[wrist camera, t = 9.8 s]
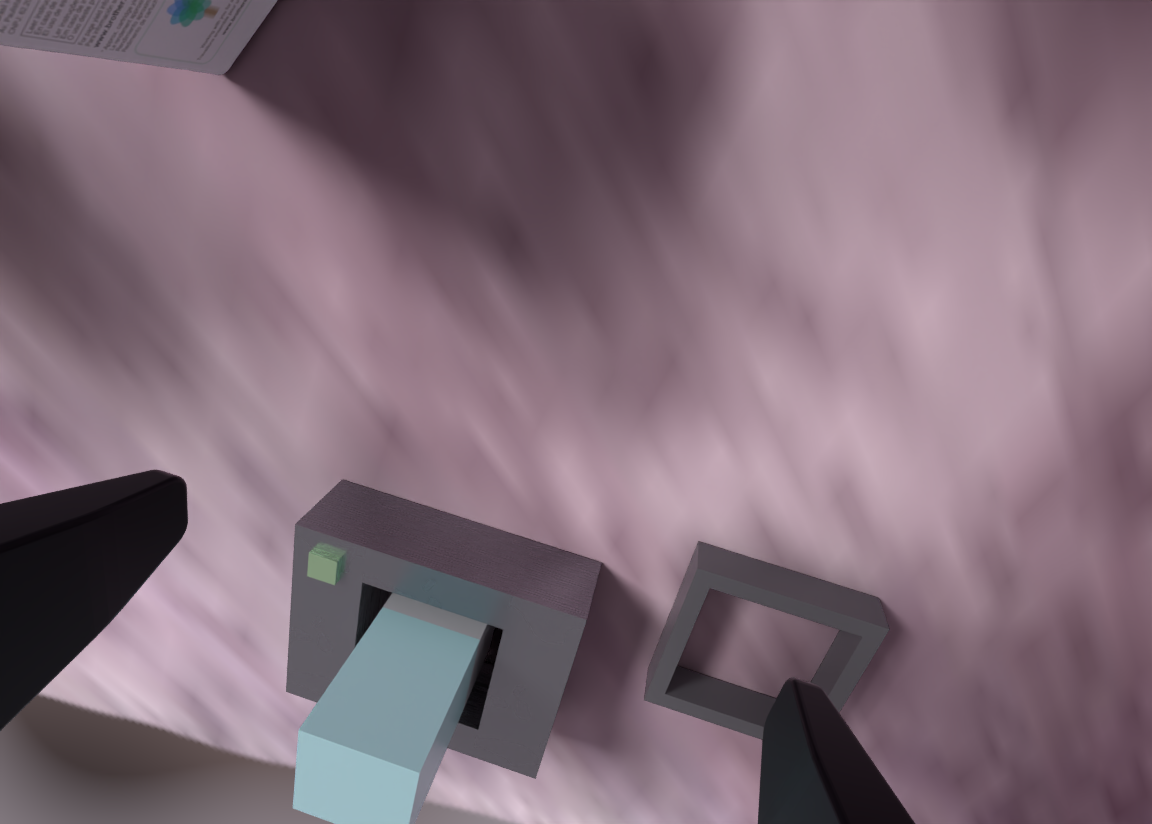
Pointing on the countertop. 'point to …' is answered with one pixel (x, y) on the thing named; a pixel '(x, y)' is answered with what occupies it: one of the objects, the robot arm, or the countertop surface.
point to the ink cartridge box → (137, 29)
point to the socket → (450, 582)
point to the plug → (389, 715)
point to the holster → (776, 590)
